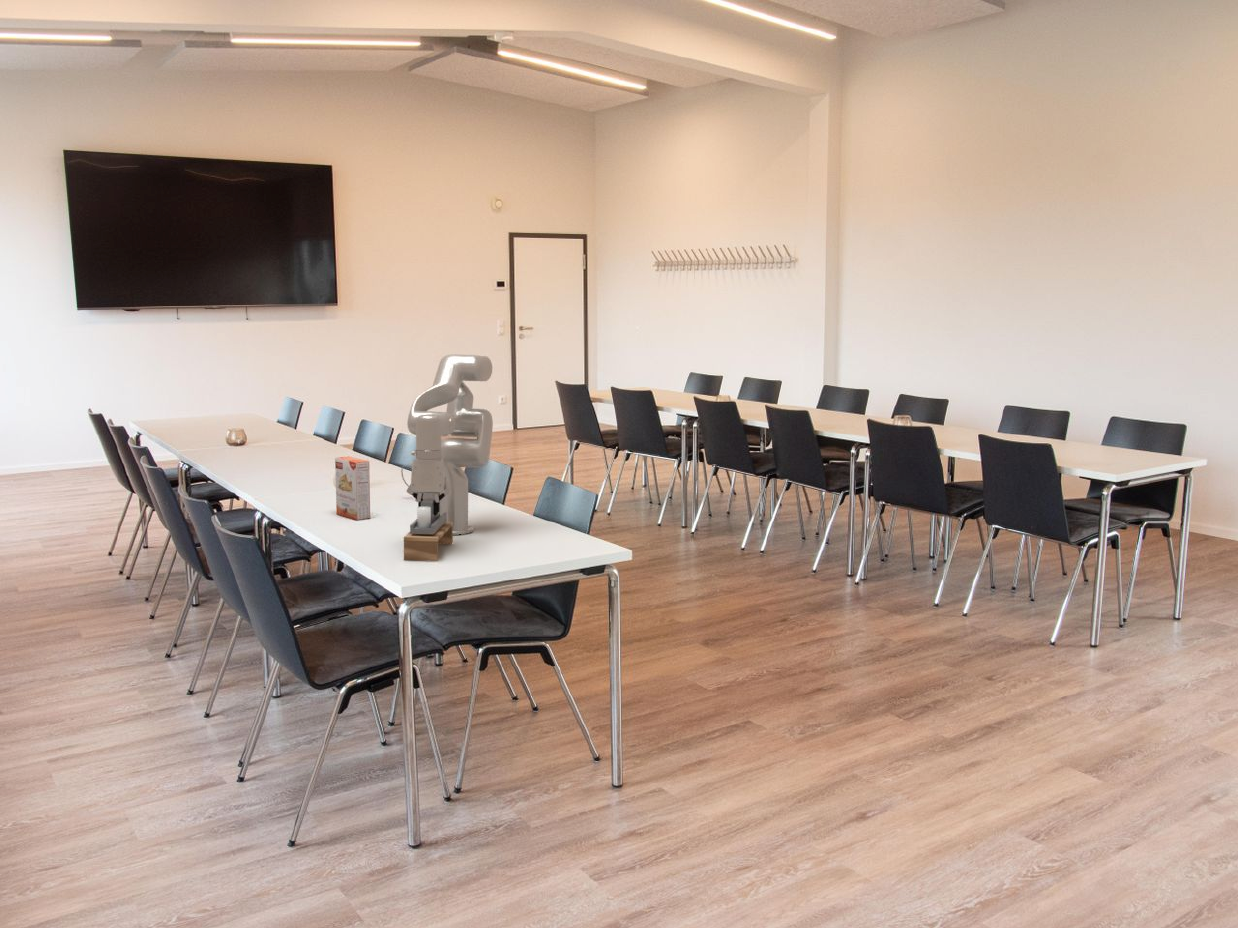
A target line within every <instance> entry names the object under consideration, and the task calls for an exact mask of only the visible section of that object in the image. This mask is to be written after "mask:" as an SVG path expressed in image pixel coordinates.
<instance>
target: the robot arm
mask: <svg viewBox="0 0 1238 928" xmlns="http://www.w3.org/2000/svg"><path fill="white" fill-rule="evenodd" d="M492 374H493V364H492V360H491V359H490V357H489V356H486V355H476V354H447V355H445V356H443V357H442V358H441V359H440V361H439V364H438V367H437V371H436V373H435V377H434V380H433V383H432V386H431V387H429V388H427V389H425V390H424V391H423V392H422V393H420V394H419V395H418V396H417V397H416V398H414V400H413V402H412V404H411V407H410V410H409V413H408V417H407V429H408V431H409V432H410V433H411V435H414V436H415V450H412V451H411V456H414V459H413V461H412V465H411V467H412V469H411V476H410V478H411V479H410V480H411V481H410V484H409V487H408V486H407V489H406V493H407V494H409V495H411V496H412V497H413V498H414V500H417V501H416V502H417V507H421V501H422V500H423V493H434V496H435V502H434V515H437V514H438V512H440V516H441V515H442V514H443V513H447V521H446V522H453V536H457V535H458V536H460V535H459V534H461V535H467V534H466V533H468V534H470V532H471V533H473V531H474V527H472V526H470V525H469V479H468V476H467V474H466V472H465V471H464V469H463V468H484V467H486V466H487V465H488V463H489V460H490V455H491V446H492V437H493V428H494V427H493V426H494V425H493V423H494V422H493V421H494V420H493V416H492V414H491V412H490V411H489V410H488V409H484V408H473V405H474V395H473V393H472V391H471V390H470V388H469V387H468V386H467V385H466V384H465V382H487V381H489V380H490V379H491V377H492ZM464 381H465V382H464ZM443 405H447V406H446V410H445V411H430V410H431V409H434V408H437V407H440V406H443ZM447 436H453V437H448V438H444V439H442V437H447ZM460 437H461V438H460ZM465 437H468V438H465ZM469 437H472V438H469ZM417 492H418V493H417Z"/></svg>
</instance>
